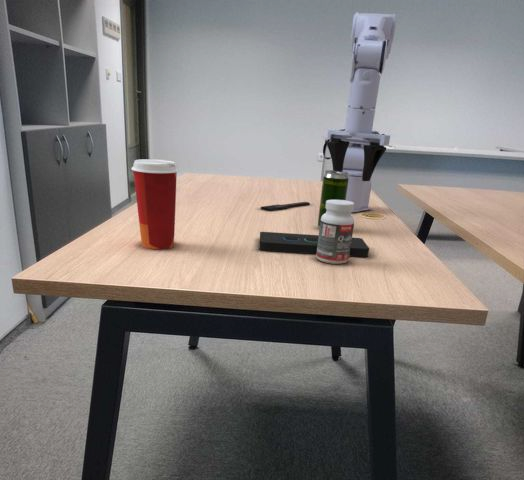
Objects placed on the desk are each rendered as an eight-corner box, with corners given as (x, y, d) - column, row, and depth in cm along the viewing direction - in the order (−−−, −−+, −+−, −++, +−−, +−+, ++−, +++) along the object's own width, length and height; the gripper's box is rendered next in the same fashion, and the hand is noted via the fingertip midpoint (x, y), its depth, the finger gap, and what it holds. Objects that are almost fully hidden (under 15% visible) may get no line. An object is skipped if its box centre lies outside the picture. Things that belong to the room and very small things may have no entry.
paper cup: (187, 243, 87) (186, 162, 80) (166, 253, 80) (163, 165, 74) (149, 237, 89) (146, 157, 82) (126, 246, 82) (120, 160, 76)
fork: (303, 203, 131) (303, 201, 131) (311, 205, 129) (311, 203, 129) (260, 209, 120) (260, 206, 120) (268, 211, 118) (269, 208, 118)
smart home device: (260, 230, 92) (361, 237, 92) (259, 239, 93) (360, 245, 93) (259, 241, 84) (370, 248, 85) (259, 250, 85) (368, 257, 86)
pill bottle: (340, 266, 80) (349, 206, 75) (310, 259, 82) (317, 201, 78) (353, 259, 84) (362, 202, 79) (324, 253, 87) (331, 197, 82)
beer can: (346, 230, 104) (354, 173, 99) (329, 233, 101) (337, 174, 96) (328, 225, 108) (335, 169, 102) (312, 227, 105) (318, 170, 99)
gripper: (321, 106, 99) (314, 174, 105) (381, 110, 90) (369, 184, 96) (341, 107, 104) (333, 173, 110) (399, 111, 95) (387, 182, 101)
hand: (351, 178), depth 103 cm, fingers open, 7 cm apart
